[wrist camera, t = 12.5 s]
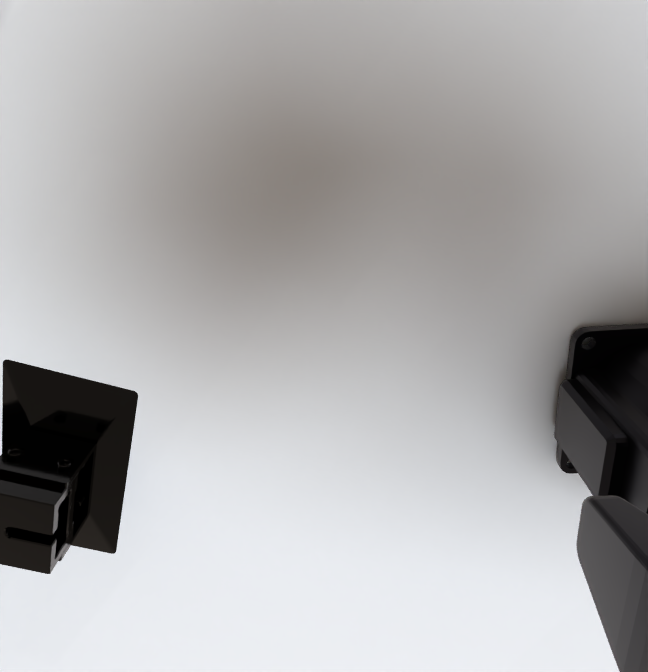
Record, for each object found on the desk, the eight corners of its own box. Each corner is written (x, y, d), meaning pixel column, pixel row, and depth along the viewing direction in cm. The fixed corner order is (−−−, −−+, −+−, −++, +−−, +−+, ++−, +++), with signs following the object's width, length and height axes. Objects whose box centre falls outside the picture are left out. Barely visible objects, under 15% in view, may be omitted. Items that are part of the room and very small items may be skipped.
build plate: (132, 570, 26) (93, 657, 22) (-13, 540, 26) (-82, 623, 22) (165, 360, 22) (123, 420, 17) (-13, 316, 21) (-101, 368, 17)
